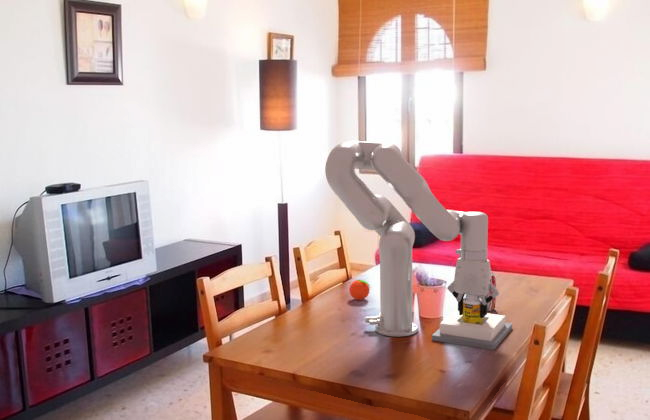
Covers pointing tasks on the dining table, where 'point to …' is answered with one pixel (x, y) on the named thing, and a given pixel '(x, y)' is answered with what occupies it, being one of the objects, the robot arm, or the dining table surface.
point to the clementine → (359, 289)
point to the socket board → (473, 341)
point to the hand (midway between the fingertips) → (472, 314)
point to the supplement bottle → (472, 309)
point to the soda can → (492, 303)
